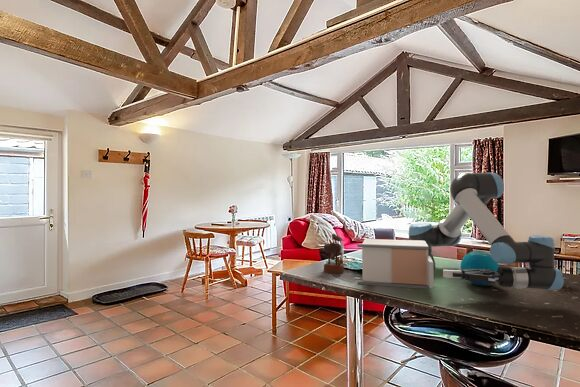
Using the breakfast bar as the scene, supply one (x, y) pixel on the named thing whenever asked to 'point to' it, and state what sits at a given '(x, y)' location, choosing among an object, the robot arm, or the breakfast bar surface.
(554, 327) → the breakfast bar surface
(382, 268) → the sliding door cabinet
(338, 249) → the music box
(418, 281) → the side door
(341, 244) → the screw
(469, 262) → the decorative orb
